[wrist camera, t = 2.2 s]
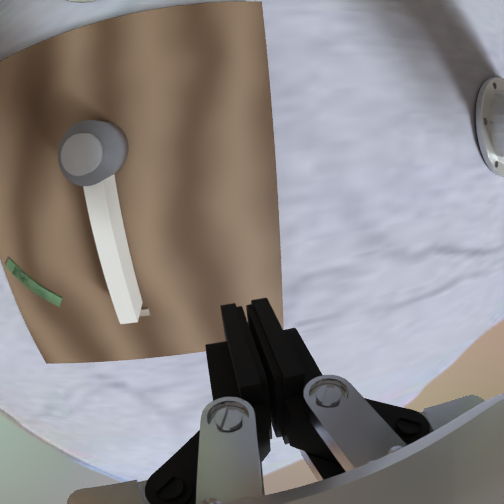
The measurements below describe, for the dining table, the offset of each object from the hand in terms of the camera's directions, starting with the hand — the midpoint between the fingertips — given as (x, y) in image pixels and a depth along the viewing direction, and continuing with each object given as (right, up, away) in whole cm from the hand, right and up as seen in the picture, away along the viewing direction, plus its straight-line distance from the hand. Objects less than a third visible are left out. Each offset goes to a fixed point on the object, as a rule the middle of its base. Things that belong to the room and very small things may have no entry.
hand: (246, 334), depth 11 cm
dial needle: (-10, +5, +9) cm, 14 cm away
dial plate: (-10, +7, +10) cm, 16 cm away
